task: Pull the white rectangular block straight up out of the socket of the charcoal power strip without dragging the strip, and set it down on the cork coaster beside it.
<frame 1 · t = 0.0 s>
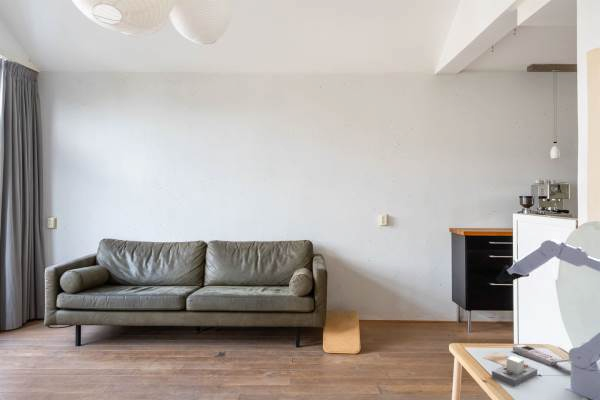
hand: (503, 280, 150), 32 cm above the table, tool tilted 50°, fingers open, 7 cm apart
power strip: (514, 378, 137), on the table, touching white rectangular block
white rectangular block: (514, 375, 137), resting on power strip
mobile phone: (541, 361, 152), on the table
cork coaster: (501, 360, 151), on the table
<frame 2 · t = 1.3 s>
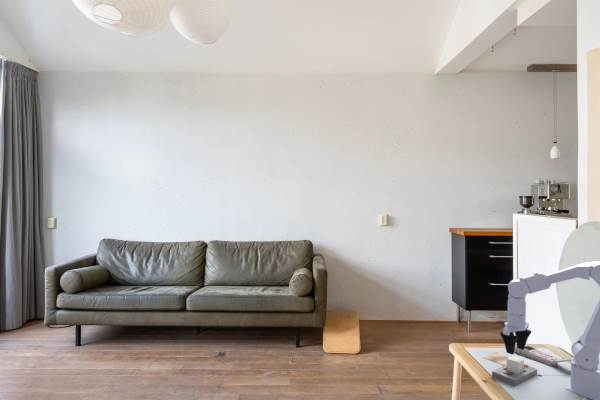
hand: (515, 351, 137), 9 cm above the table, tool pointing down, fingers open, 7 cm apart
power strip: (514, 378, 137), on the table
white rectangular block: (514, 375, 137), point 1 cm above the table
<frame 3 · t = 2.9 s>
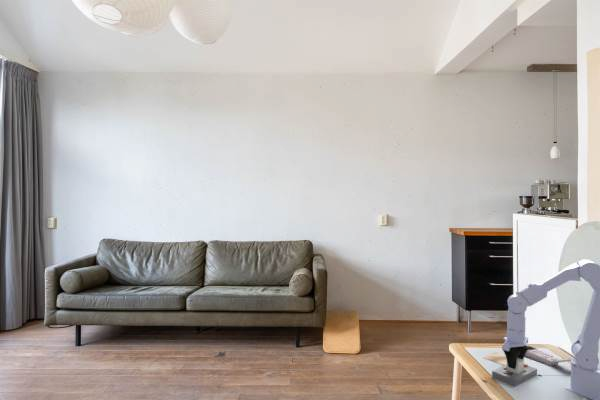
hand: (515, 366, 137), 4 cm above the table, tool pointing down, fingers closed on white rectangular block, 4 cm apart
white rectangular block: (514, 375, 137), point 1 cm above the table, touching gripper
everything else where it was.
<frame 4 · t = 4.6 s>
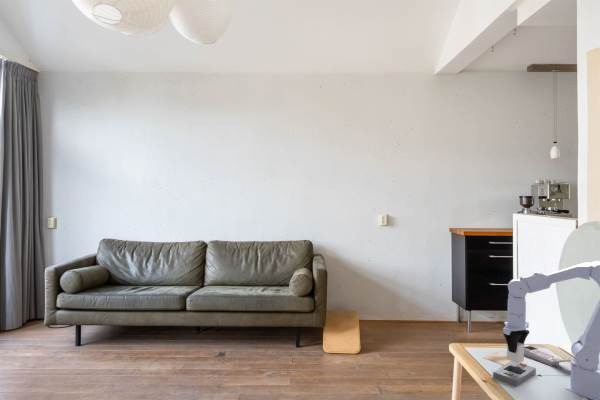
hand: (515, 350, 137), 10 cm above the table, tool pointing down, fingers closed on white rectangular block, 4 cm apart
white rectangular block: (515, 360, 137), point 6 cm above the table, touching gripper
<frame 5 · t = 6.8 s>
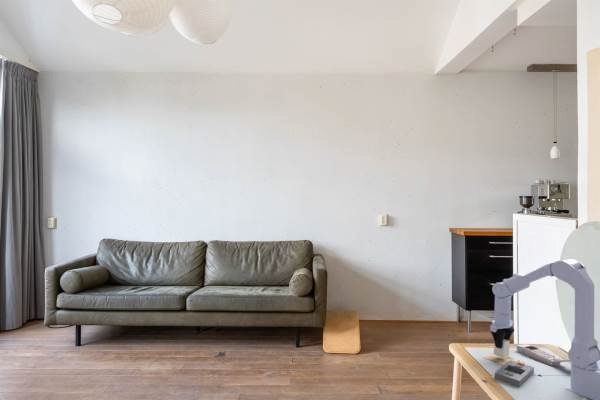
hand: (501, 346, 151), 6 cm above the table, tool pointing down, fingers closed on white rectangular block, 4 cm apart
white rectangular block: (501, 355, 151), point 2 cm above the table, touching gripper
when the fingers open (5 cm above the table, at t = 7.6 s): white rectangular block drops 1 cm, resting on cork coaster.
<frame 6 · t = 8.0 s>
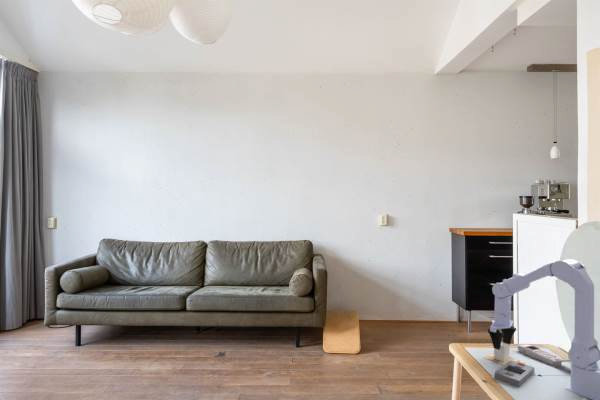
hand: (501, 346, 151), 6 cm above the table, tool pointing down, fingers open, 7 cm apart
white rectangular block: (501, 358, 151), point 1 cm above the table, touching cork coaster
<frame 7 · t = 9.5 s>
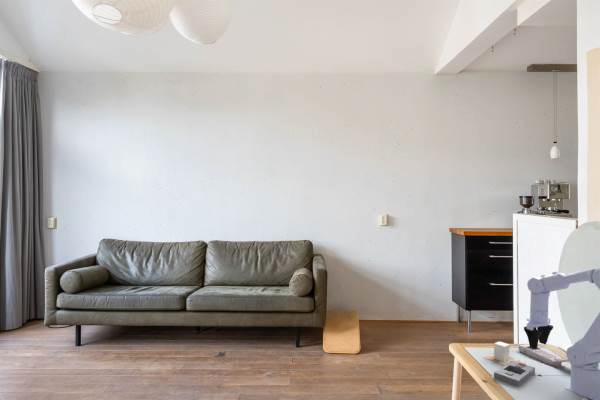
hand: (538, 345, 143), 9 cm above the table, tool pointing down, fingers open, 7 cm apart
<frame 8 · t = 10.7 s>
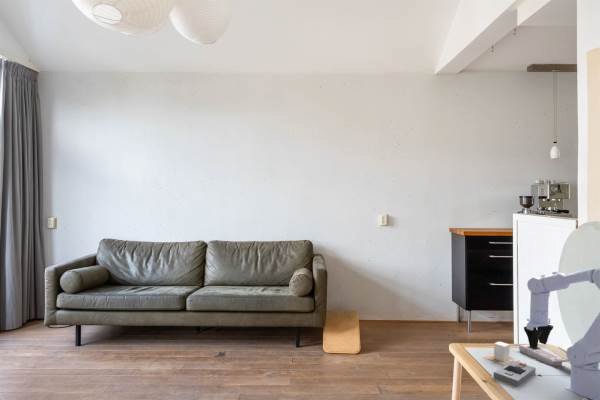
hand: (538, 345, 143), 9 cm above the table, tool pointing down, fingers open, 7 cm apart
at the end: white rectangular block inside the target area on the cork coaster (0.1 cm from its centre), point 0.6 cm above the cork coaster's base; white rectangular block tilted 0°; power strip moved 0.5 cm from its start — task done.
